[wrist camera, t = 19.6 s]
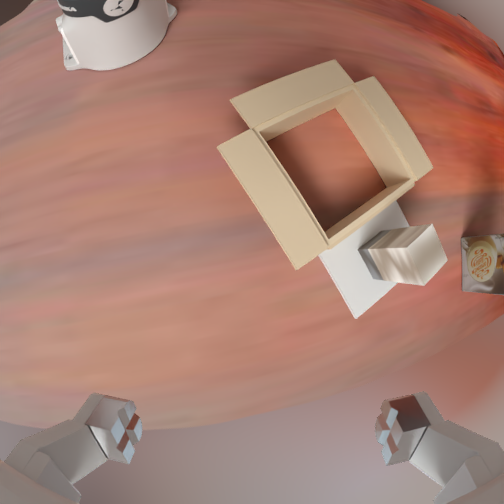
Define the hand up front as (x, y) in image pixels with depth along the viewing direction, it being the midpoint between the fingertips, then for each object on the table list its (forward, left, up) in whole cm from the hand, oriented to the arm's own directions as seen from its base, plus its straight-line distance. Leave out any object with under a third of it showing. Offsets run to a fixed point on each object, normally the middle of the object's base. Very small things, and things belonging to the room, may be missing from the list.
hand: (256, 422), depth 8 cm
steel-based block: (+6, +20, -24) cm, 32 cm away
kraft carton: (-8, +20, -25) cm, 33 cm away
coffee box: (+20, +37, -25) cm, 49 cm away
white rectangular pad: (+7, +20, -25) cm, 32 cm away
